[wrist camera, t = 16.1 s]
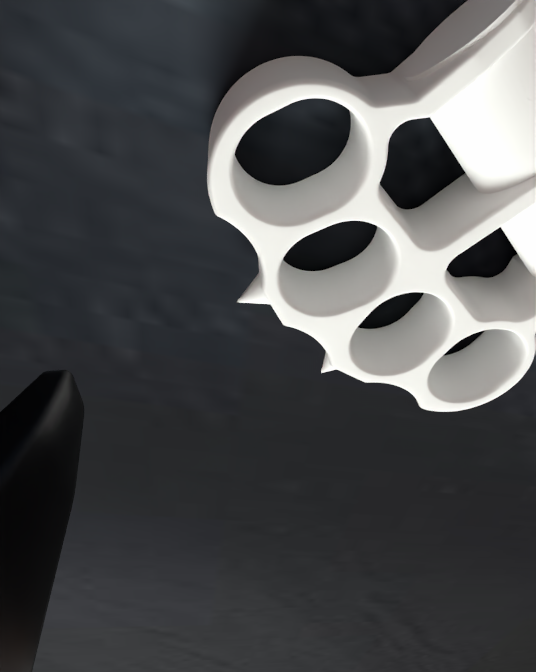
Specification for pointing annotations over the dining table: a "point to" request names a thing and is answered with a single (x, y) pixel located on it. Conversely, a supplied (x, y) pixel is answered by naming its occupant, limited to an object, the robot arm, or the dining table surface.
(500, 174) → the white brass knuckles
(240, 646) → the dining table surface
